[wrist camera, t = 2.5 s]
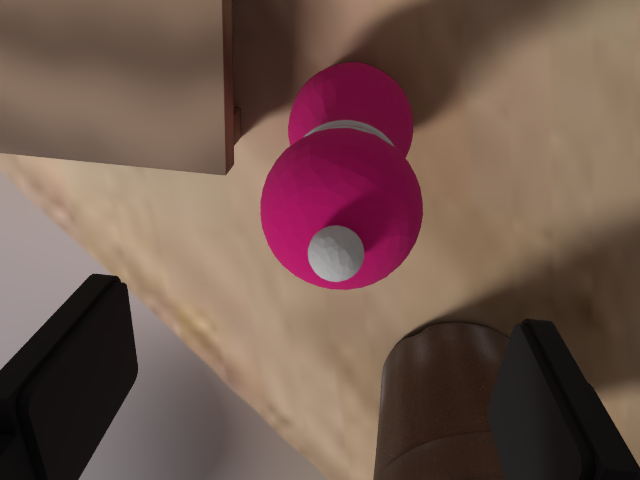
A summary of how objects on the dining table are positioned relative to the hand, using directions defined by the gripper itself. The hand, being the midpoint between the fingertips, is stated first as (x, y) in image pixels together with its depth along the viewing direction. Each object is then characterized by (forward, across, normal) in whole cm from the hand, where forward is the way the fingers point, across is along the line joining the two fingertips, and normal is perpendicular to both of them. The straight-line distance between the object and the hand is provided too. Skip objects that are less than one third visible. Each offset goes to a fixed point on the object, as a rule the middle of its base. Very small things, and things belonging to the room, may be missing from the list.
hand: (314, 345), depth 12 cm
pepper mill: (+23, 0, 0) cm, 23 cm away
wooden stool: (+23, +14, -4) cm, 27 cm away
